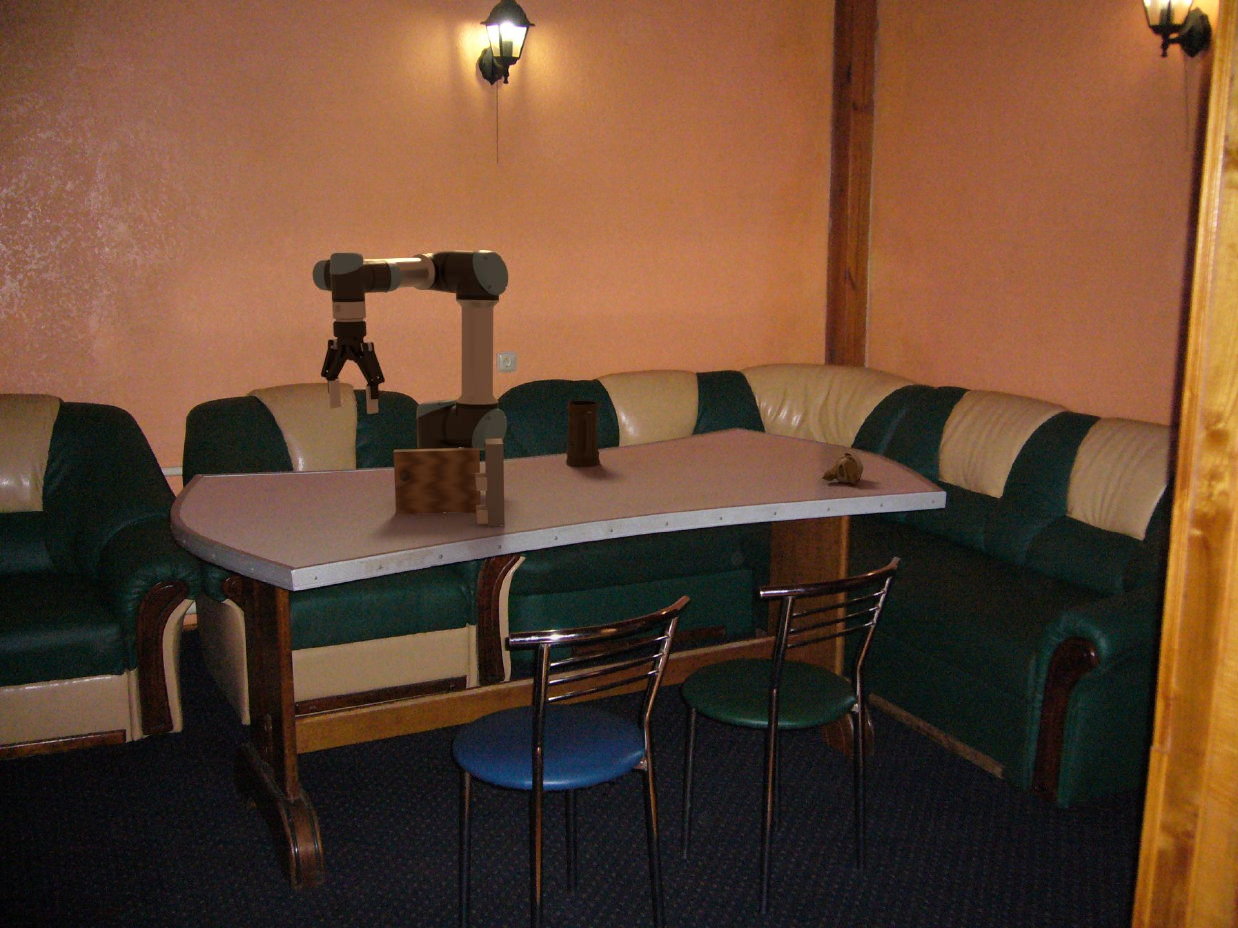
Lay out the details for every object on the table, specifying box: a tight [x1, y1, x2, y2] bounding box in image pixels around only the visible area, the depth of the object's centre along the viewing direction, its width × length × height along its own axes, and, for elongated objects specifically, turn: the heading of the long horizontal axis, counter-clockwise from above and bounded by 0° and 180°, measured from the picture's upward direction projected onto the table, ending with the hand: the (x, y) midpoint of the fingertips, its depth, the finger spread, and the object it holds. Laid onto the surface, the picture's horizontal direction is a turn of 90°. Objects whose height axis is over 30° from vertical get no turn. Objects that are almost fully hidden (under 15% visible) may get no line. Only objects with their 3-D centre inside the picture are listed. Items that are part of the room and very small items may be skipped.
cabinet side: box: [475, 439, 506, 527], centre depth 257 cm, size 6×8×20 cm
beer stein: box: [565, 399, 601, 468], centre depth 328 cm, size 15×10×20 cm
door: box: [393, 447, 482, 515], centre depth 268 cm, size 21×4×16 cm, turn 99°
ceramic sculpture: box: [822, 452, 864, 484], centre depth 308 cm, size 11×9×15 cm
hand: (353, 410), depth 253 cm, fingers open, 13 cm apart
